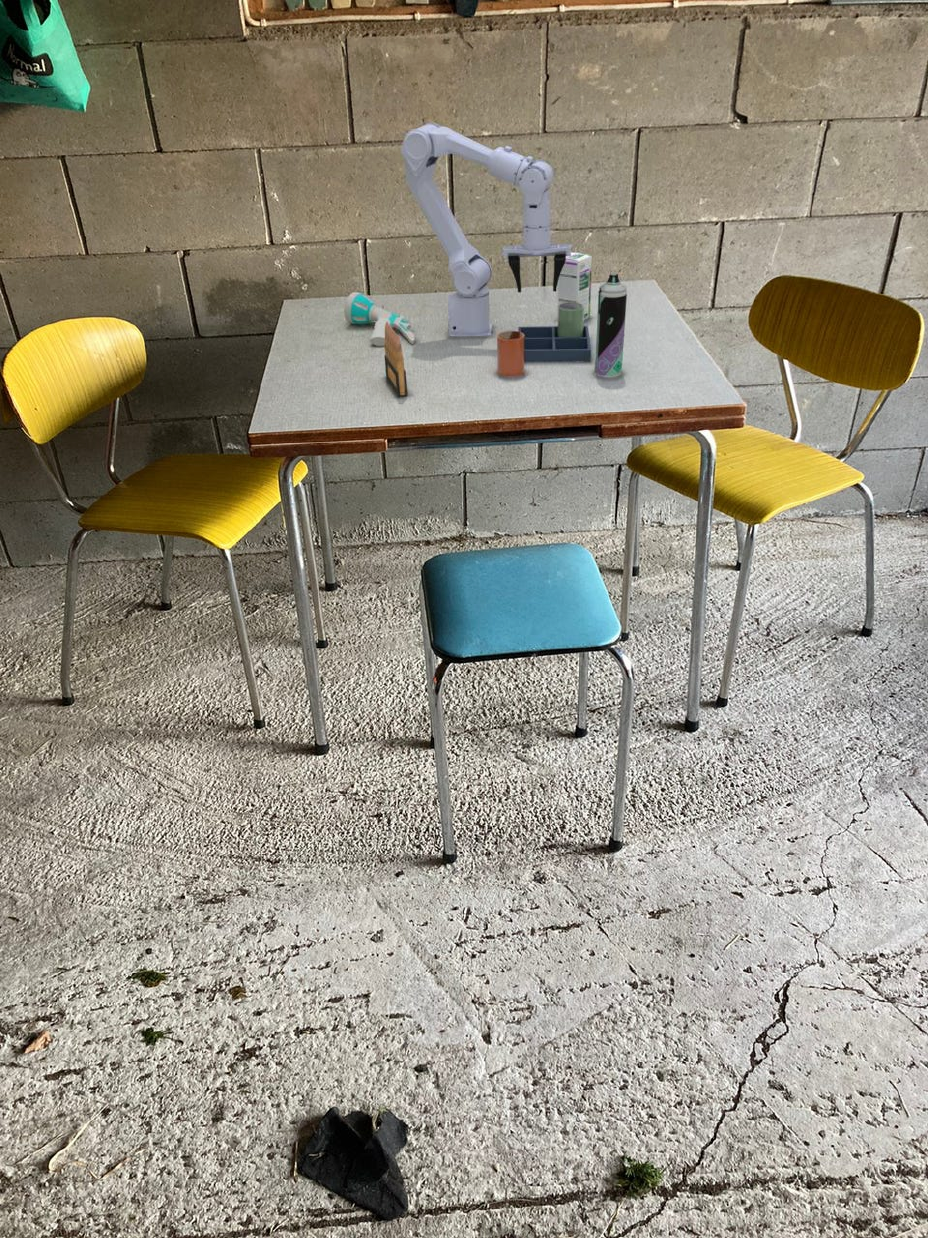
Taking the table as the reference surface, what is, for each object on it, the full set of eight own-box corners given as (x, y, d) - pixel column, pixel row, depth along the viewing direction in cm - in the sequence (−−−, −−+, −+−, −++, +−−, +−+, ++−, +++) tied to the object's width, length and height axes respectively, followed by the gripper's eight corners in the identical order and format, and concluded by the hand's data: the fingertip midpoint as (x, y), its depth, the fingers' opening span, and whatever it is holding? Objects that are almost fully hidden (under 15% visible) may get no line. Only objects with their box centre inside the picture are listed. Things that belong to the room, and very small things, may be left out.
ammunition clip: (407, 395, 187) (403, 336, 180) (398, 397, 187) (394, 337, 180) (394, 377, 195) (390, 319, 188) (386, 378, 195) (381, 320, 188)
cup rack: (517, 364, 199) (517, 350, 198) (518, 339, 212) (518, 326, 210) (590, 363, 198) (591, 349, 196) (587, 338, 211) (587, 325, 209)
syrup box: (577, 324, 218) (580, 260, 210) (556, 320, 221) (557, 256, 213) (590, 318, 222) (593, 254, 214) (569, 314, 225) (571, 250, 217)
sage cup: (557, 347, 205) (558, 310, 201) (556, 338, 210) (557, 301, 205) (583, 346, 205) (584, 309, 200) (582, 338, 209) (583, 301, 205)
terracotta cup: (496, 378, 193) (496, 339, 188) (497, 368, 197) (497, 330, 193) (524, 378, 193) (524, 339, 188) (524, 368, 197) (524, 330, 192)
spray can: (604, 381, 190) (610, 279, 178) (589, 372, 194) (593, 273, 182) (626, 375, 192) (633, 275, 180) (611, 367, 196) (617, 268, 184)
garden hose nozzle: (414, 328, 208) (420, 291, 223) (335, 323, 208) (346, 286, 223) (413, 358, 213) (419, 320, 228) (336, 353, 213) (347, 315, 227)
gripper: (502, 230, 196) (503, 296, 204) (571, 228, 195) (570, 294, 203) (502, 222, 202) (504, 287, 209) (570, 220, 200) (569, 285, 208)
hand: (537, 290), depth 206 cm, fingers open, 7 cm apart
